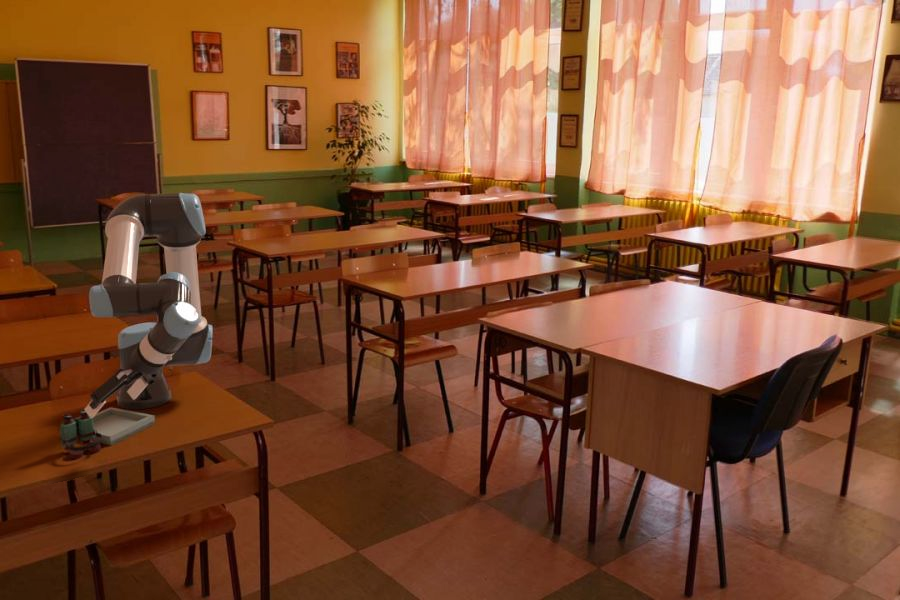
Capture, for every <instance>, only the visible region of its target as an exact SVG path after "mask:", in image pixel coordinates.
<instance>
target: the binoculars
mask: <svg viewBox="0 0 900 600" xmlns="http://www.w3.org/2000/svg"><path fill="white" fill-rule="evenodd" d="M84 409H85V408H83V409H81V410H80V412H79V414H80V416H79V417H75V418H73V416H72V415H71V414H62V420H63V422H62V423H60V438H59V440H60V445H61V446H62V447H63V450H62V451H63V453H64V454H67V453H68V457H69V458H70V459H81V458H83V456H84V451H86V452H87V453H89V454H96V453H98V452H100V451H101V444H102V443H101V442H102V435H101V433H98V432H97V430H94V424H93V418H90V417H89V415H88V414H87V413H86V411H85V410H84ZM95 431H96V433H95ZM95 435H96V436H95ZM95 437H96V438H97V437H100V438H101V439H100V440H99V441H97V442H93V441H91V440H90V439H93V438H95ZM78 440H79V441H78ZM78 442H80V446H74V445H76V444H78Z"/></svg>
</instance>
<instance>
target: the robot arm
mask: <svg viewBox="0 0 900 600" xmlns="http://www.w3.org/2000/svg"><path fill="white" fill-rule="evenodd" d="M104 231H105V235H106V238H107V242H106V243H107V245H106V250H105V251H106V252H105V258H104V264H103V272H102V279H101V284H99V285H93V286H91V287H90V289H89V292H88V293H89V294H88V295H89V296H88V298H89V307H90V308H89V309H90V312H91V314H92V316H93V317H95V318H117V317H119V318H121V317H132V316H133V317H134V316H149V315H157V319H156V321H153V322H151V321H150V322H142V323H138V324H132V325H130V326H127V327H125V328H124V329H122V330H121V331H120V332H119V333H118V335H117V336H118V337H117V342H118V345H117V349H118V354H119V364H120V368H119V369H117V371H115V373H114V374H113V375H112V376H111V377H110V378H108V379H107V380H106V381H105V382H104V383H103V384H102V385H100V386H99V387H98V388H97V389H95V390H93V391H92V393H90V395H89V398H91V400H90V401H89V403H87V405H86V406H85V408H83V409H84V410H85V411H86V413H87V414H88V416H89V417H90V418H93V417H94V416H95V415H96V413H99V412H100V410H101V409H102V407H104V405H105V404H106V402H107V400H108V399H109V398H111V397H112V396H114V395H115V394H116V393H117V392H118V393H117V395H116V400H117V402H116V403H117V406H118V407H120V408H122V409H125V410H126V409H127V410H143V409H144V410H145V409H151V408H155V407H159V406H162V405H164V404H167V403H168V402H169V401H170V400H171V399H172V395H171V394H172V393H171V389H170V387H169V385H168V383H167V381H166V377H165V375H164V373H163V372H164V371H163V368H164V367H172V366H176V367H177V366H186V365H187V366H188V365H199V364H205V363H209V361H210V360H211V358H212V348H213V331H214V330H213V325H212V324H208V321H207V319H206V317H204V316H202V308H201V297H200V296H201V295H200V283H199V270H198V269H199V268H198V258H197V245H198V244H200V242H201V240H202V236H205V235H206V231H207V230H206V223H205V217H204V213H203V208H202V204H201V199H200V198H199V196H198V195H196V194H195V193H183V192H178V193H176V192H175V193H141V194H140V193H139V194H135V195H132V196H129V197H127V198H126V199H124V200H122V201H121V202H120V203H118V204H117V205H116V206H115V207H114V208H113V209H112V210H111V211H110V214H108V217H107V218H106V223H105V227H104ZM145 237H147V238H148V237H156V239H157V243H158V244H159V245H160V246H161V247H162V248H163V251H164V261H165V271H166V273H165V274H162V275H161V276H160V277H159V278H158V280H157V281H156V282H143V283H142V282H140V283H137V274H138V273H137V272H138V261H139V252H140V251H139V250H140V242H141V241H142V239H143V238H145Z"/></svg>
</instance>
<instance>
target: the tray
mask: <svg viewBox="0 0 900 600" xmlns="http://www.w3.org/2000/svg"><path fill="white" fill-rule="evenodd" d="M155 416H156V415H153V414H148V413H144V412H138V411H133V410H129V409H127V410H126V409H123V408H122V409H121V408H117V407H112V406H111V407H108V408H105V409H104V410H101V411H98V412H97V413H96V415H95V416H94V417H93V424H94V430H97V432H98V433H101V435H102V442H101V443H100V444H103V445H107V446H113V445H115V444H117V443H119V442H122V441H123V440H125V439H127V438H130V437H132V436H134V435H135V434H137V433H139V432H142V431H143V430H145V429H146V430H147V428H150V427H152V426H154V425H156V418H155ZM95 433H96V431H95ZM95 436H96V435H95ZM100 439H101V438H100V437H97V438H96V437H95V438H93V439H90V440H91V441H92V442H97V441H99V440H100Z"/></svg>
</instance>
